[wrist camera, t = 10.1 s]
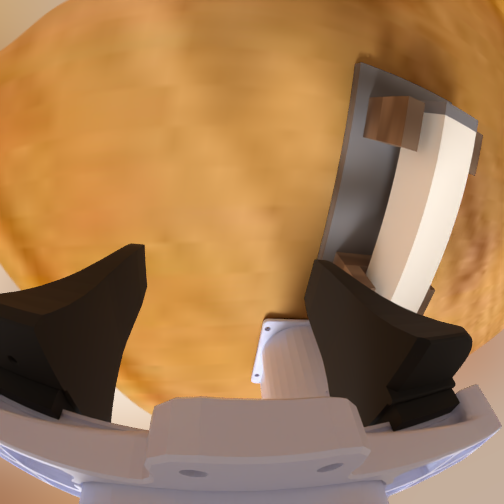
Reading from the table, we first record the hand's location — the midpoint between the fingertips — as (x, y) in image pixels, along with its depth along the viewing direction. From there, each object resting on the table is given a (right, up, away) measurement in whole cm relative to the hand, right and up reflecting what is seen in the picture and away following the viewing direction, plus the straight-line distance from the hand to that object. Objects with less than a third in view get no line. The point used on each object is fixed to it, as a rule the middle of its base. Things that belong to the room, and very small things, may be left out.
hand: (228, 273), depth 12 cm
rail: (+12, +4, +6) cm, 14 cm away
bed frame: (+12, +5, +9) cm, 15 cm away
